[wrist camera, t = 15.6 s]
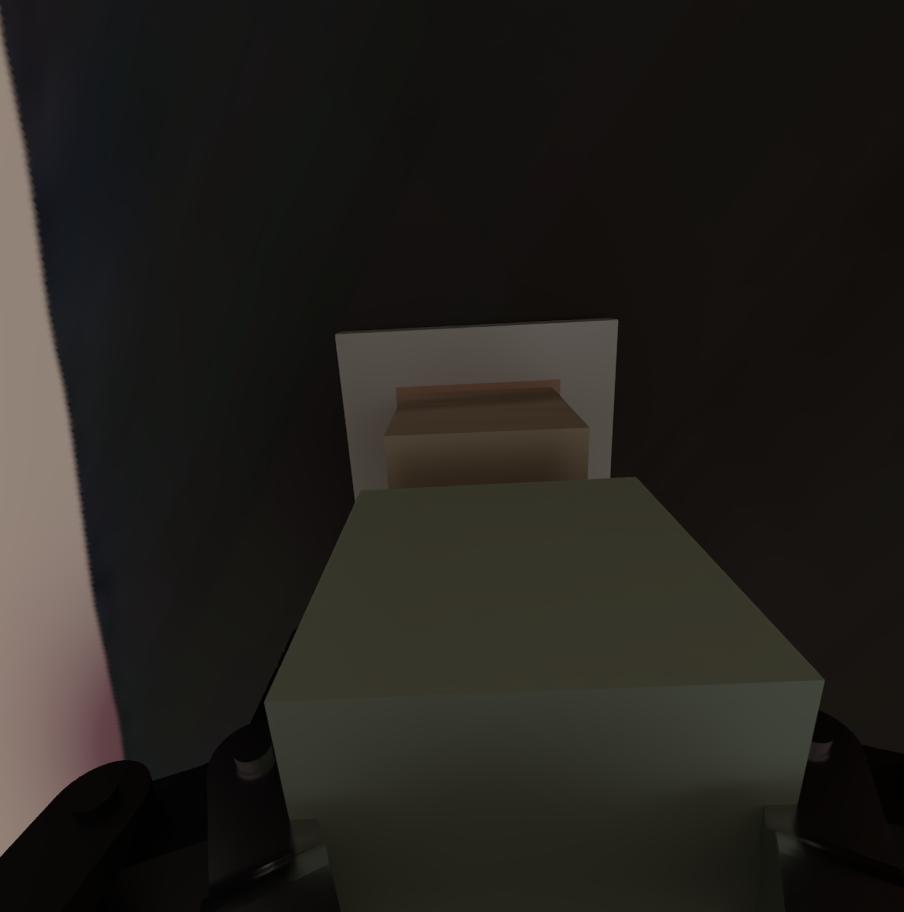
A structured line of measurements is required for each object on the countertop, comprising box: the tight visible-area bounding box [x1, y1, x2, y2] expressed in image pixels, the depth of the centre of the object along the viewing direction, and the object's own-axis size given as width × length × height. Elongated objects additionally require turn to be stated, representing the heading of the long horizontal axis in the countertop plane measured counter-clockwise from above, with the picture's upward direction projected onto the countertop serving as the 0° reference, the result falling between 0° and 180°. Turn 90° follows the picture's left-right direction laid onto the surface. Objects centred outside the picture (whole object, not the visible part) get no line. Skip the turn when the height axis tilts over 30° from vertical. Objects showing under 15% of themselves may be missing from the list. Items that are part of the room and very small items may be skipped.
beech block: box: [384, 387, 590, 489], centre depth 19 cm, size 6×6×6 cm
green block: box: [264, 477, 825, 912], centre depth 9 cm, size 6×6×6 cm
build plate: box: [335, 318, 618, 502], centre depth 22 cm, size 11×11×1 cm
